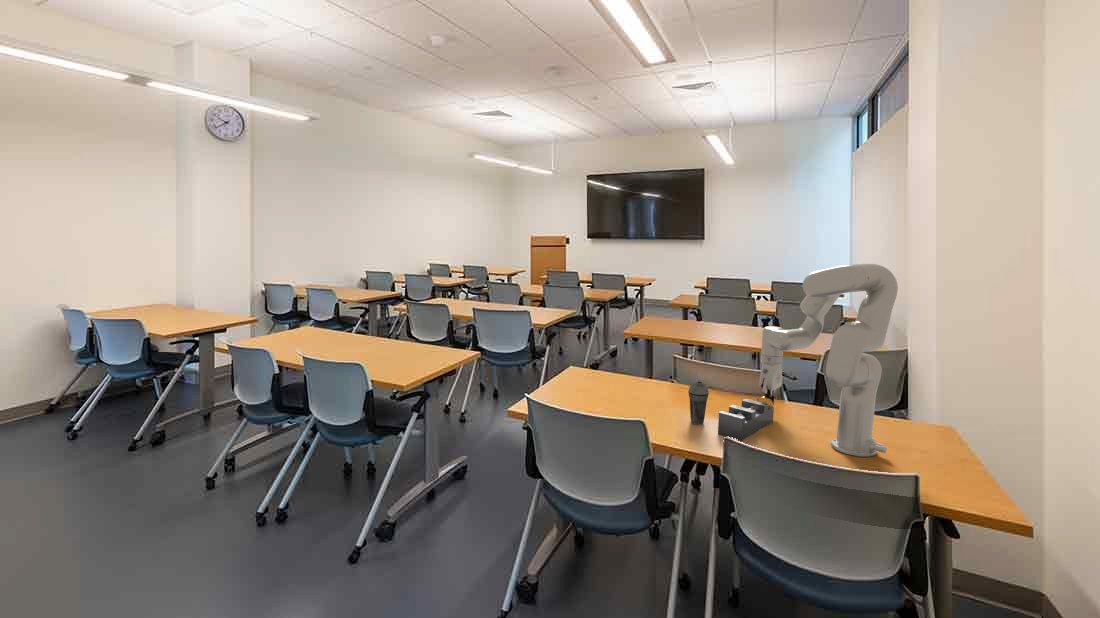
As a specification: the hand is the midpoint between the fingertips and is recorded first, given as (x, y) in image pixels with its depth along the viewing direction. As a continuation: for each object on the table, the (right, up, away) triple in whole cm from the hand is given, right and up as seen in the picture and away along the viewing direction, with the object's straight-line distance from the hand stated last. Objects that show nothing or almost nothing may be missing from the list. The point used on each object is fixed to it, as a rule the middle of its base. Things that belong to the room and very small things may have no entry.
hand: (768, 405), depth 190 cm
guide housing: (-13, -6, -12) cm, 19 cm away
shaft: (-12, -3, -11) cm, 16 cm away
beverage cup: (-30, -5, -7) cm, 31 cm away
